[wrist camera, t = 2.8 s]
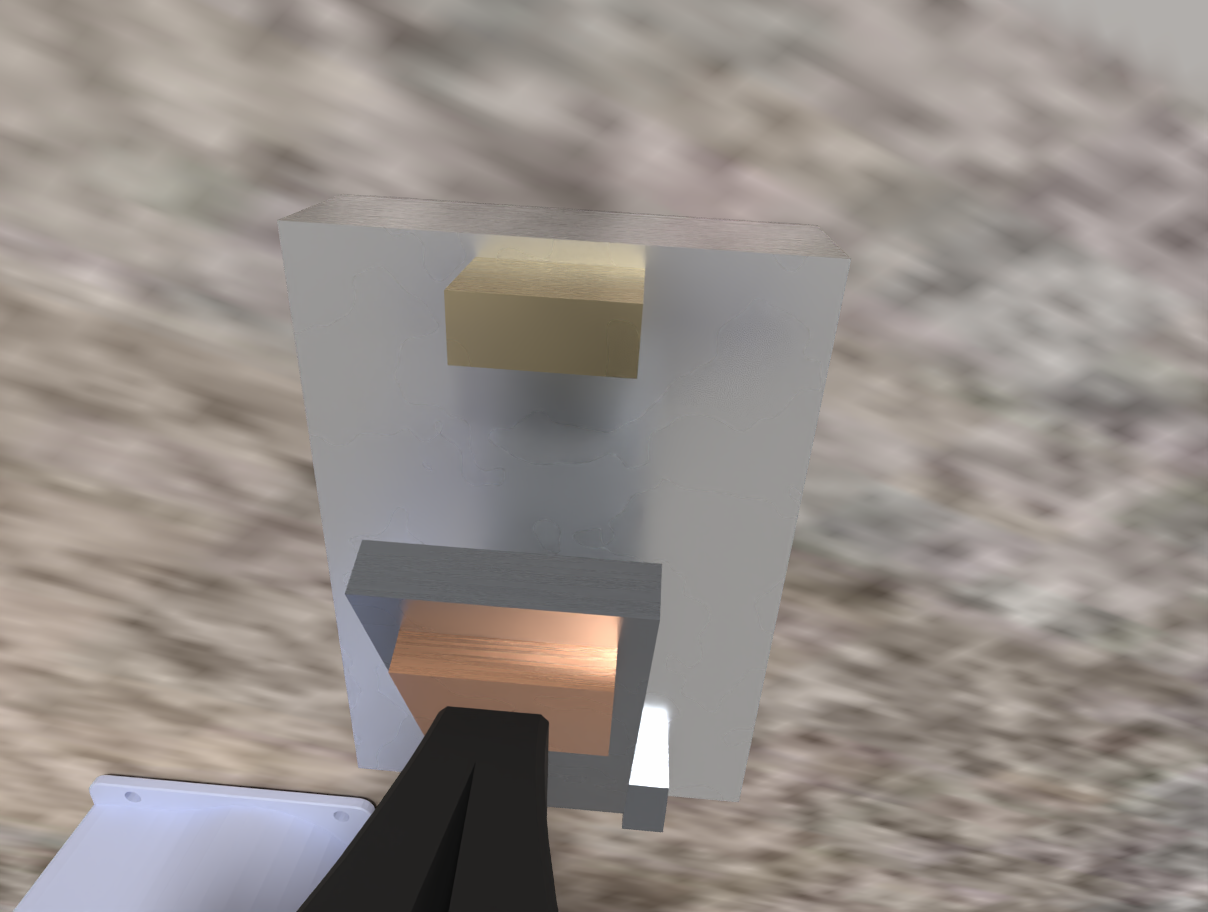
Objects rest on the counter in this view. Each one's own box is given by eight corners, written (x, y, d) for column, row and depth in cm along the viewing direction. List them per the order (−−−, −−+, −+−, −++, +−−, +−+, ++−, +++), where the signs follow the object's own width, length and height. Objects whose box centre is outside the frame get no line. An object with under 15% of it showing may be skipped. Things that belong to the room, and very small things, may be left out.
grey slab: (466, 764, 19) (455, 825, 18) (362, 540, 10) (329, 639, 9) (625, 778, 19) (621, 840, 18) (661, 563, 10) (658, 665, 9)
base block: (394, 684, 22) (325, 845, 18) (341, 194, 16) (210, 247, 11) (729, 712, 22) (748, 884, 17) (817, 225, 15) (886, 293, 11)
